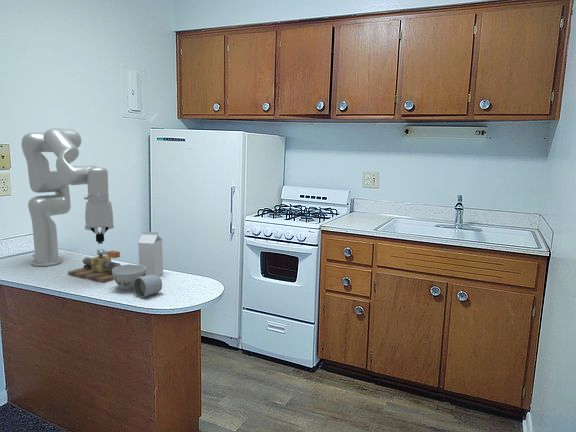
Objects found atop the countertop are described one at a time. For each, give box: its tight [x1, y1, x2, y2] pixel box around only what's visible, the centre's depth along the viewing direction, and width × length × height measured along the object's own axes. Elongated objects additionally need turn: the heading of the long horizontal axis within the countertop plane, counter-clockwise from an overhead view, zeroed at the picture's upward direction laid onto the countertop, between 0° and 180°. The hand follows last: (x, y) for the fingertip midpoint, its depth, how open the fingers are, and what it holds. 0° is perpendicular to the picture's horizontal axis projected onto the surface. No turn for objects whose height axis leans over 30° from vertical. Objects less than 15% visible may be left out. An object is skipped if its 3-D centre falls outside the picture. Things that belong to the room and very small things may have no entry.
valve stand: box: [67, 255, 121, 284], centre depth 182 cm, size 22×16×8 cm
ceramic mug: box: [132, 275, 163, 299], centre depth 159 cm, size 11×8×8 cm
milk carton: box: [137, 231, 164, 277], centre depth 180 cm, size 7×7×19 cm
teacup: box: [112, 264, 146, 291], centre depth 166 cm, size 15×12×8 cm
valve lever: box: [96, 248, 121, 259], centre depth 180 cm, size 12×3×2 cm, turn 62°
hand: (100, 243), depth 173 cm, fingers closed
